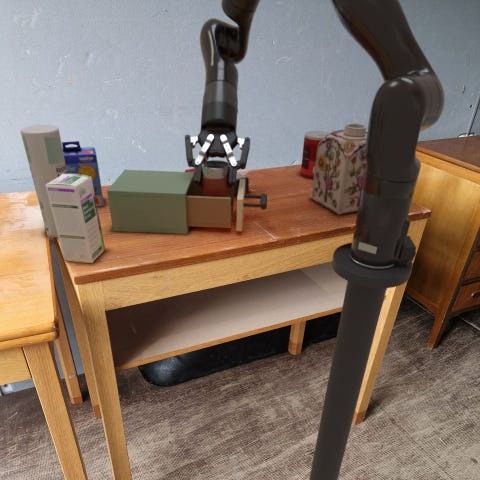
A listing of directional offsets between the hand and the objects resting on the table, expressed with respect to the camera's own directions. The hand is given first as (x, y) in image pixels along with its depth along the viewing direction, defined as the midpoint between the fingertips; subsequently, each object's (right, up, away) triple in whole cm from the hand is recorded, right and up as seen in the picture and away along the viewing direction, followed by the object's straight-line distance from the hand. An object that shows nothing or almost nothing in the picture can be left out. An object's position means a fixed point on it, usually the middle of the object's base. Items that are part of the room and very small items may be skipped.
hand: (214, 185), depth 91 cm
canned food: (+26, +14, +35) cm, 46 cm away
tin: (0, -2, +4) cm, 5 cm away
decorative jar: (+30, +1, +17) cm, 35 cm away
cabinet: (-13, -6, +7) cm, 16 cm away
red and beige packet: (-1, +7, +24) cm, 25 cm away
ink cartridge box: (-32, -1, +13) cm, 35 cm away
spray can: (-32, -9, +1) cm, 33 cm away
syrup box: (-24, -16, -8) cm, 30 cm away
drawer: (+1, -5, +6) cm, 8 cm away
